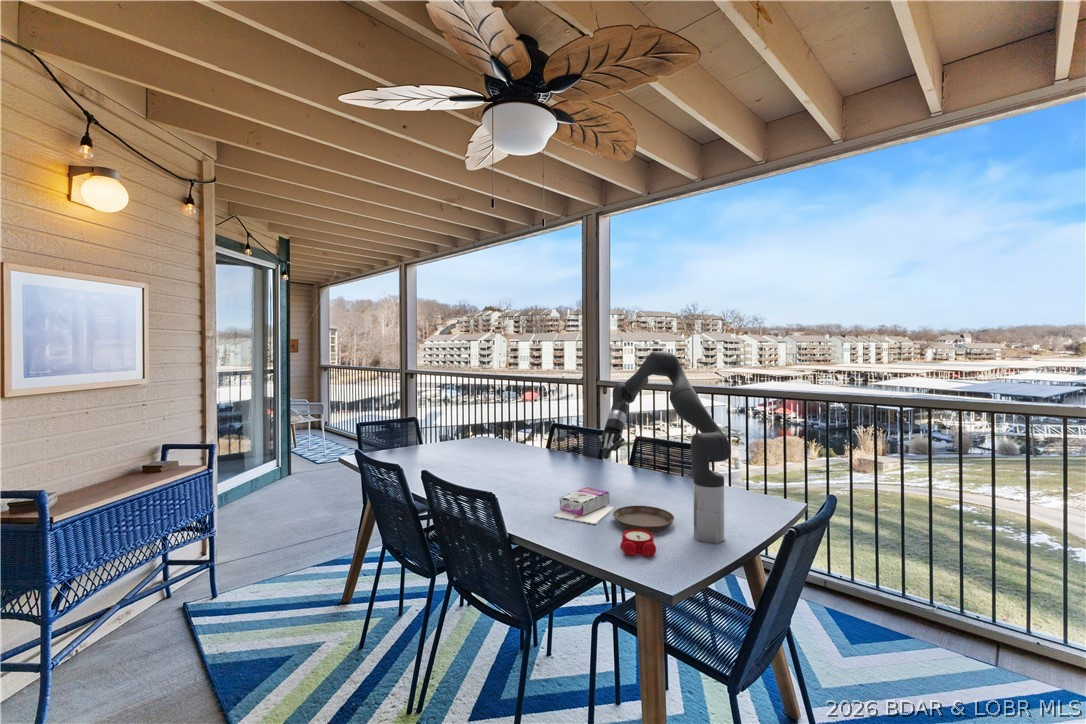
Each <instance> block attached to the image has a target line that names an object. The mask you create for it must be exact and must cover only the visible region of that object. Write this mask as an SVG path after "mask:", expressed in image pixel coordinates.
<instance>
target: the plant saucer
mask: <svg viewBox="0 0 1086 724" xmlns="http://www.w3.org/2000/svg"><path fill="white" fill-rule="evenodd" d="M612 516H613V518H614V520H615V521H616V522H617V523H618V524H619V525H620V526H621V527H622V528H625V530H630V529H641V530H646V531H649V532H650V533H657V532H661V531H664V530H666V529H668V527H670V526H671V525H672V524H673V522H674V521H675V516H674V514H672V512H669V511H668V510H666V509H663V508H660V507H655V506H648V505H627V506H626V505H625V506H623V507H622V506H621V507H619V508H617V509H614V510H613V511H612Z"/></svg>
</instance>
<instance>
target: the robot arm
mask: <svg viewBox="0 0 1086 724" xmlns="http://www.w3.org/2000/svg"><path fill="white" fill-rule="evenodd" d="M650 376H660V377H667V378H668V379H669V380H670V382H671V388H670V391H669V402H670V403H671V405H672V407H673V409H674V411H675V413H676V414H677V415H678V417H680V419H682V420H684V421H685V422H686V423H688V424H689V425H691V426H692V427H694V428H695V429H697V431H699V432H698V433H694V434H693V435H692V437H691V440H690V458H691V459H690V460H691V473H692V478H693V479H692V481H693V485H692V486H693V488H692V489H693V491H692V493H693V496H692V497H693V500H692V501H693V536H694V538H695V540H696V541H699V542H704V543H710V544H715V545H716V544H719V543H721V542H723V541H725V477H724V475H723V474H722V473H720V472H717V471H714V470H711V469H710V463H720V462H725V461H727V460H729V459H730V457H731V455H732V449H731V444H730V441H729V439H728V438H727V436H726V434H725V433H724V432H723V430H722V429H721V428H720V426H719V425H718V424H717V423H716V422H715V420H714V419H713V418H712V416H711V415H710V413H709V412H708V410H707V408H705V405H704V404H703V403H702V401H701V399H700V397H699V395H698V394H697V391H695V389H694V388H693V386H692V385H691V383H690V381H689V379H688V377H687V376H686V373H685V371H684V370H683V367H682V364H681V363H680V361H679V359H678V357H677V356H676V354H674V353H672V352H667V351H666V352H665V351H658V350H657V351H652V352H651V353H649V354H648V356H647V357H646V358H645V359H644V361H643V362H642V364H641V365H640V367H639V368H638V370H637V371H635V373H634V374H633V375H631V376H630V378H628V379H627V380H626V381H625V383H624V382H621V381H620V382H616V383H615V385H614V386H613V388H612V404H611V405H612V406H611V408H610V412H609V414H608V415H607V419H606V423H605V425H604V430H603V432H602V433H601V435H596V436H595V439H596V441H597V443H598V445H599V447H600V449H601V450H602V453H601V457H602V458H603V459H604V460H609V458H610V457H611V454H612V451H613V452H616V451H618V450H619V449H620V448H622V447H623V446H624V445H625V444H627V443H626V440H625V438H624V437H623V436H622V435H623V431H624V428H625V425H626V420H627V416H628V412H629V404H632V403H634V401H635V400H636V398H637V396H638V394H639V393H640V392H642V391H643V390H644V389H645V388H646V387H647V386H648V384H649V377H650ZM603 442H604V444H603Z"/></svg>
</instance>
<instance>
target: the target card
mask: <svg viewBox="0 0 1086 724" xmlns="http://www.w3.org/2000/svg"><path fill="white" fill-rule="evenodd" d="M613 509H614V510H615V506H614V507H613V506H608V505H605V506H603V507H601V508H599V509H596V510H594V511H592V512H590V513H587V514H585V515H579V514H575V513H571V512H568V511H563V510H560V511H559V512H558V513H555V515H554V516H557V517H561V518H566V519H571V520H575V521H574V522H576V521H580V522H579V523H581V522H586V523H585V524H587V523H591V524H590V525H592V524H596V525H597V524H599V523H600V522H601V521H602V520H603V519H604V518H606V517H607V516H608V515H609V514H610V513H612V512H613V511H614V510H613ZM612 510H613V511H612ZM608 513H609V514H608ZM607 514H608V515H607ZM606 515H607V516H606ZM601 519H602V520H601ZM571 520H570V521H571ZM600 520H601V521H600ZM599 521H600V522H599Z"/></svg>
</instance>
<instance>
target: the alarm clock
mask: <svg viewBox="0 0 1086 724" xmlns="http://www.w3.org/2000/svg"><path fill="white" fill-rule="evenodd" d="M621 536H622V538H621V539H622V540H621V543H620V548H621V550H622V551H623V553H624V555H626V556H628V557H634V556H636V555H637V556H644V557H647V558H649V557H653V556H654V555H656V552H657V547H656V544H655V542H654V534H653V532H649V531H646V530H641V529H630V530H629V529H624V531H623V532H622V535H621Z"/></svg>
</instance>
